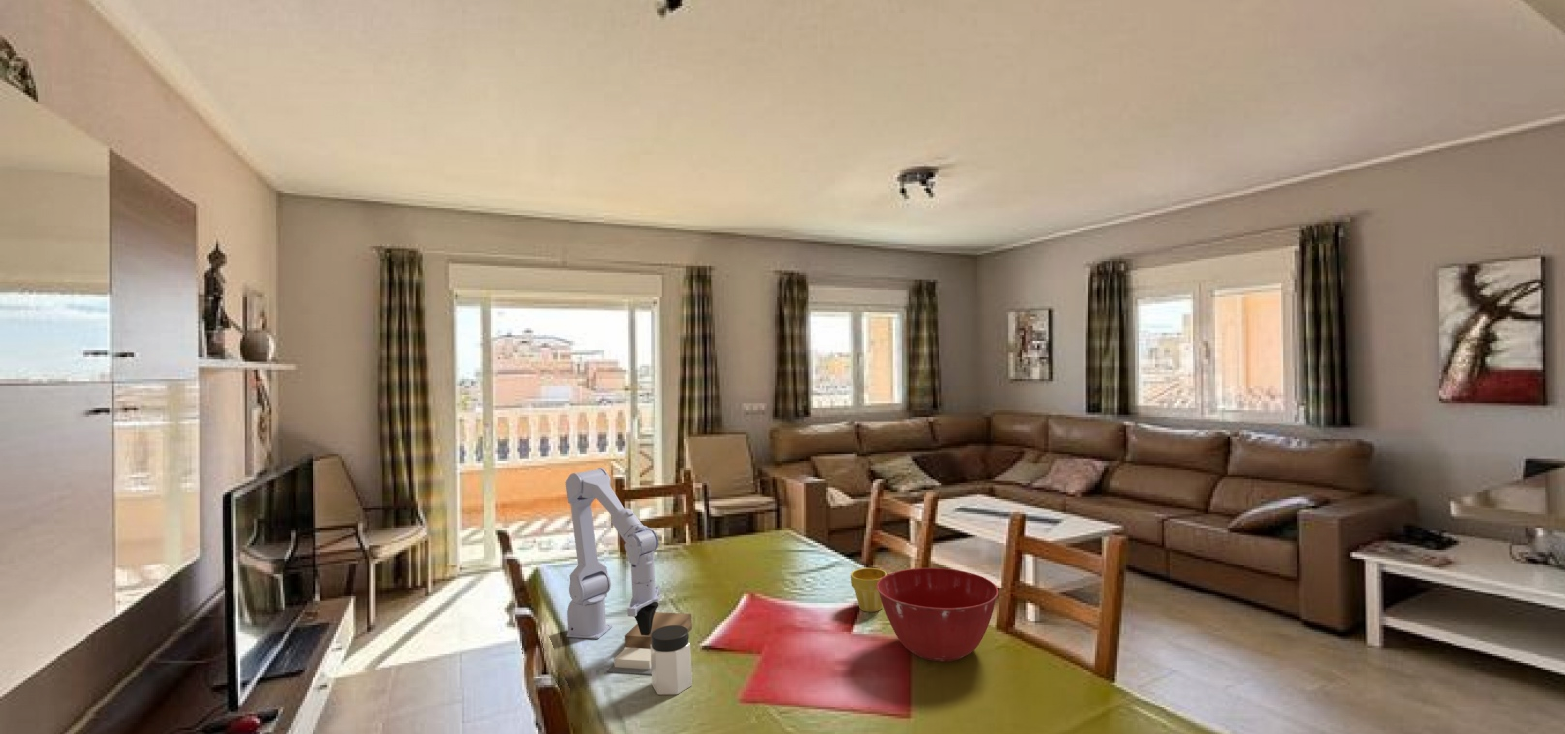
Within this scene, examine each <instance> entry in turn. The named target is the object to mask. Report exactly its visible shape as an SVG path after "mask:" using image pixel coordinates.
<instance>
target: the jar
mask: <svg viewBox="0 0 1565 734" xmlns="http://www.w3.org/2000/svg"><path fill="white" fill-rule="evenodd" d="M689 638H690V636H689V632H688V630H687V628H686V627H684V626H680V625H669V626H664V627H660V628H658V629H656V630H655V631H653V632H652V634H651V642H652V644H651V645H650V646H651V668H652V675H651V684H652V687H653V689H654V691H655V693H656V694H657V695H661V696H663V695H680V694H681V693H682V692H685V690H687V689H688V688H690V687H691V686H692V685H693V682H692V681H693V679H692V676H693V675H692V656H691V644H690V642H689Z"/></svg>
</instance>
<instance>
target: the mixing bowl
mask: <svg viewBox="0 0 1565 734" xmlns="http://www.w3.org/2000/svg"><path fill="white" fill-rule="evenodd" d="M877 590H878V591H879V593H880V597H881V600H882V604H883V607H882V608H884V613H885V615H886V617H887V619H888V622H889V623H890V624H889V625H890V627H891V628H892V630H893V632H894V634H895V635H896V637H897V639H898V640H899V642H900V643H901V644H902V646H904V648H906V650H908V651H910V652H912V654H914V655H915V656H917V657H919V658H922V659H924V660H929V661H932V662H953V661H957V660H960V659H962V658H964V657H966V656H967V655H968V656H969V654H971V653H972V652H973V651H974V650H976V649H977V648H978V646H979V645H980V643H981V641H982V640H983V637H984V636H985V633H986V632H987V630H988V627H989V624H990V622H991V619H992V616H993V613H994V609H995V604H996V602H997V601H996V600H997V598H998V596H999V589H998V587H997V585H996V584H995V583H994V582H992V580H989V579H988V578H986V577H984V576H982V575H979V574H975V573H973V572H968V571H963V570H959V569H952V568H942V567H917V568H907V569H903V570H902V569H901V570H898V571H893V572H891V573H889V574H888V573H887V575H886V576H884V577H882V578H881V579H880V580H879V581H878V583H877Z"/></svg>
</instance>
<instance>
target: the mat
mask: <svg viewBox="0 0 1565 734" xmlns="http://www.w3.org/2000/svg"><path fill="white" fill-rule="evenodd" d="M606 672H607V673H618V674H619V673H620V674H634V675H647V676H648V675H649V676H652V668H651V669H650V670H649V669H634V668H618V667H615V664H614V663H613V664H612V665H611V666H610V667H609V668H608V669H606Z"/></svg>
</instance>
